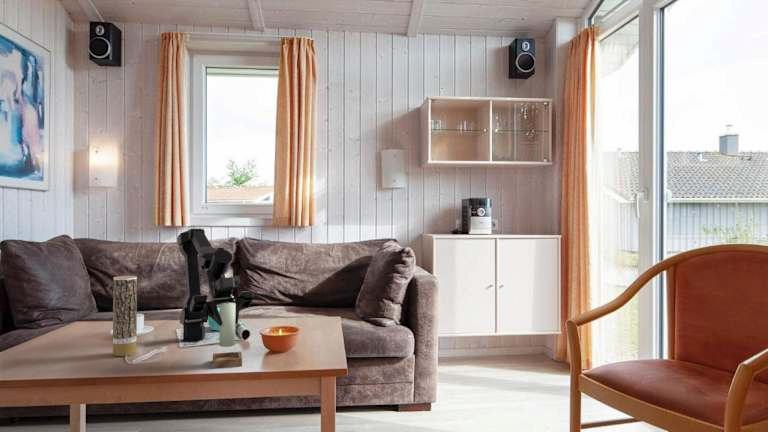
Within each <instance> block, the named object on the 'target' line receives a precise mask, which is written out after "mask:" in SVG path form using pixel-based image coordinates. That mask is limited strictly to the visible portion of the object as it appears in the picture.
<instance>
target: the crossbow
mask: <svg viewBox="0 0 768 432" xmlns="http://www.w3.org/2000/svg"><path fill="white" fill-rule="evenodd" d="M167 348H168V347H167V346H162V347H161V348H160V349H158V348H156V349H154V350H150V351H148V352H147V353H146V351H144V352H142V354H144V353H146V354H144V355H142V356H139V357H138V358H135V359H134V360H132V361H129V360H128V356H127V355H126V356H124V357H125V362H126V363H127V364H130V365H137V364H139V365H140V364H146V363H148V364H149V363H155V362H159V361H160V362H161V361H162V357H161V355H160V353H163V352H166V351H168V349H167ZM136 354H137V355H138V354H140V352H139V353H136ZM132 355H134V354H131V355H130V356H132ZM155 355H159V358H155V359H151V360H149V358H150V357H153V356H155ZM146 359H148V360H146Z"/></svg>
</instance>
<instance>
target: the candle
mask: <svg viewBox="0 0 768 432" xmlns="http://www.w3.org/2000/svg"><path fill="white" fill-rule="evenodd" d="M219 308H220V318H221V322H222V325H221V326H220V331H219V344H218V346H219V347H222V348H223V347H224V348H229V347H234V346H235V345H236V325H235V313H236V304H235V303H228V301H227V303H221V304H220V305H219Z"/></svg>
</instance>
